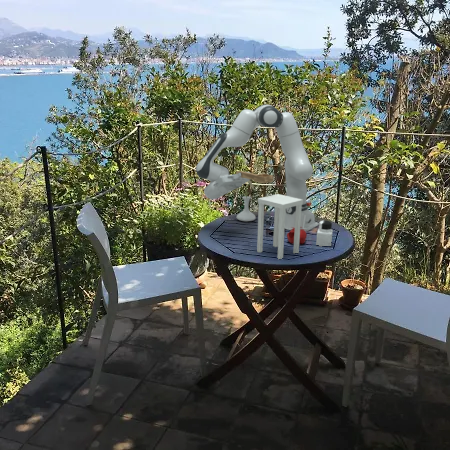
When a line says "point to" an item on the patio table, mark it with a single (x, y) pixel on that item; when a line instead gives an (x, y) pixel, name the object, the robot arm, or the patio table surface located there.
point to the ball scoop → (256, 177)
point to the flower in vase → (246, 208)
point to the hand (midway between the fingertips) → (243, 173)
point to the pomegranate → (291, 236)
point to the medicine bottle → (324, 234)
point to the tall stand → (279, 221)
